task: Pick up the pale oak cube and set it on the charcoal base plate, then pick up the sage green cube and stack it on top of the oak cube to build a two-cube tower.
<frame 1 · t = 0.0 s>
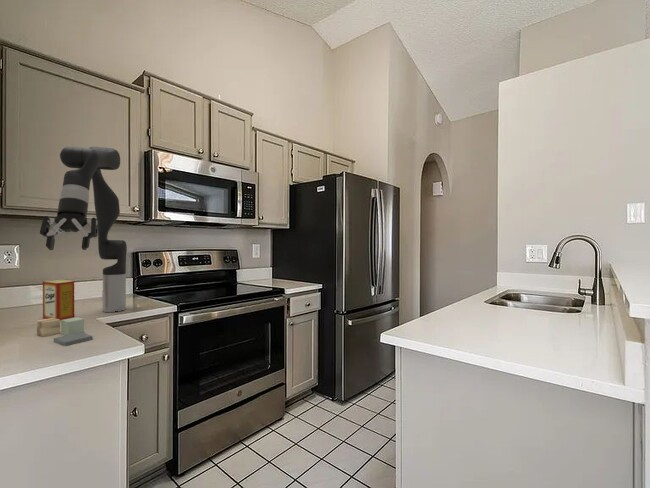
hand: (67, 249, 101), 31 cm above the countertop, tool tilted 20°, fingers open, 8 cm apart
baking soda box: (58, 318, 140), on the countertop
sage block: (72, 333, 120), on the countertop
oak block: (48, 333, 118), on the countertop
base plate: (73, 340, 111), on the countertop
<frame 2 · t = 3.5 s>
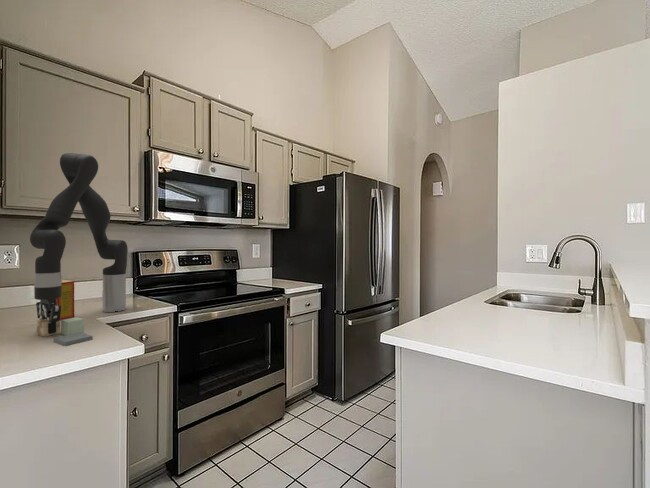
hand: (48, 331, 118), 1 cm above the countertop, tool pointing down, fingers closed on oak block, 5 cm apart
oak block: (48, 333, 118), on the countertop, touching gripper
everything else where it was.
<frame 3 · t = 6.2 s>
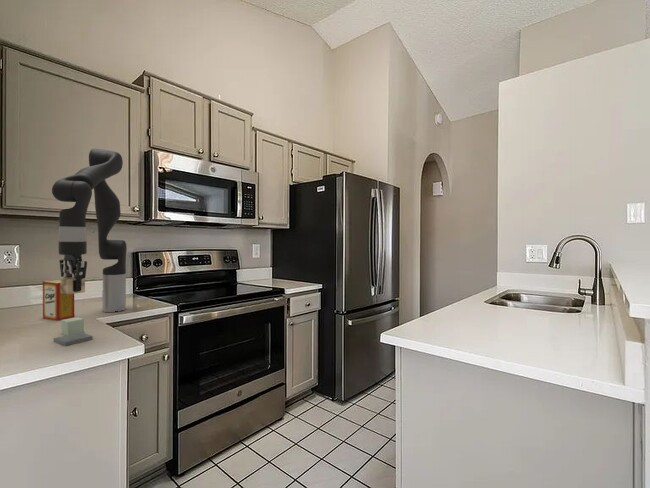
hand: (73, 290, 111), 17 cm above the countertop, tool pointing down, fingers closed on oak block, 5 cm apart
oak block: (72, 292, 111), point 16 cm above the countertop, touching gripper
everything else where it was.
when the fingers open (3 cm above the countertop, at t = 9.1 s): oak block drops 1 cm, resting on base plate.
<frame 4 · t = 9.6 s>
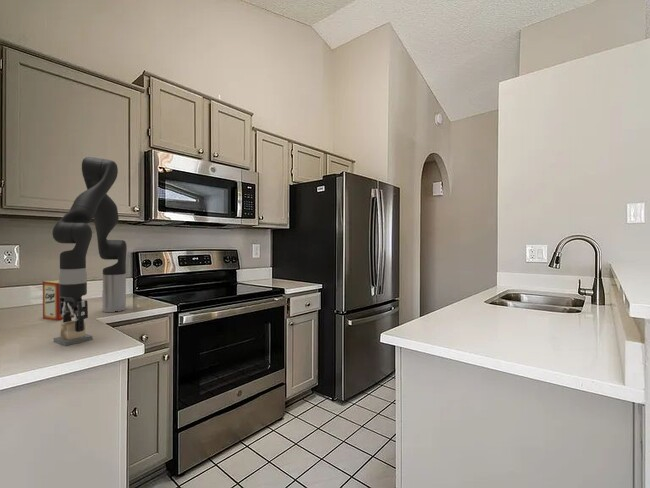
hand: (73, 329, 111), 4 cm above the countertop, tool pointing down, fingers open, 8 cm apart
oak block: (73, 337, 111), point 1 cm above the countertop, touching base plate
everything else where it was.
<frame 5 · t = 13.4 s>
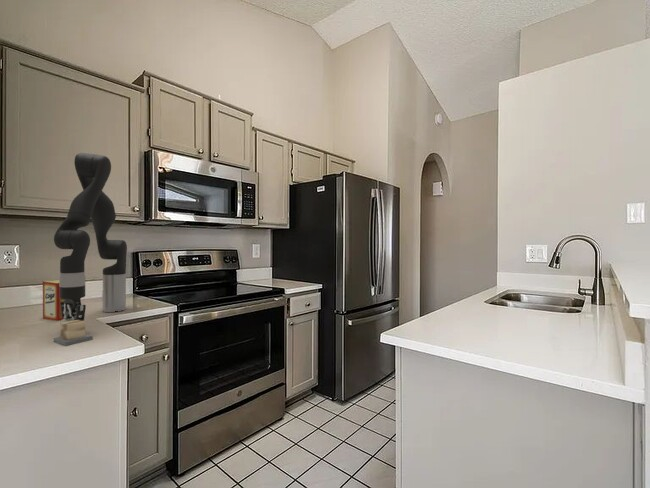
hand: (72, 330, 120), 1 cm above the countertop, tool pointing down, fingers closed on sage block, 5 cm apart
sage block: (72, 332, 120), on the countertop, touching gripper
everything else where it was.
when the fingers open (8 cm above the countertop, at t = 17.6 s): sage block drops 1 cm, point 6 cm above the countertop.
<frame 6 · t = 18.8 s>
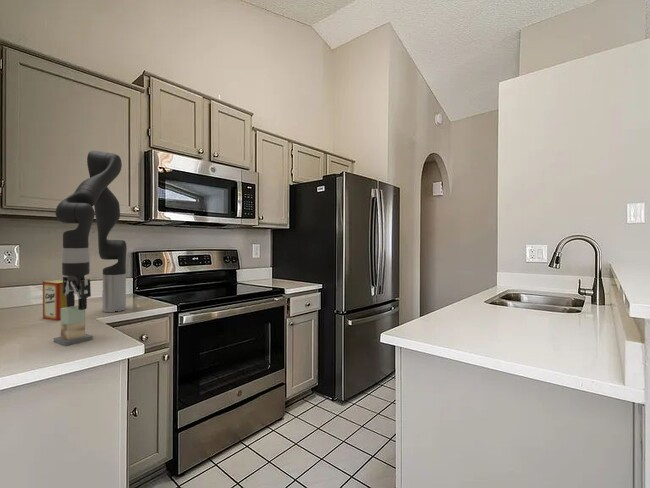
hand: (76, 307, 113), 11 cm above the countertop, tool pointing down, fingers open, 8 cm apart
sage block: (73, 322, 111), point 6 cm above the countertop, touching gripper
everything else where it was.
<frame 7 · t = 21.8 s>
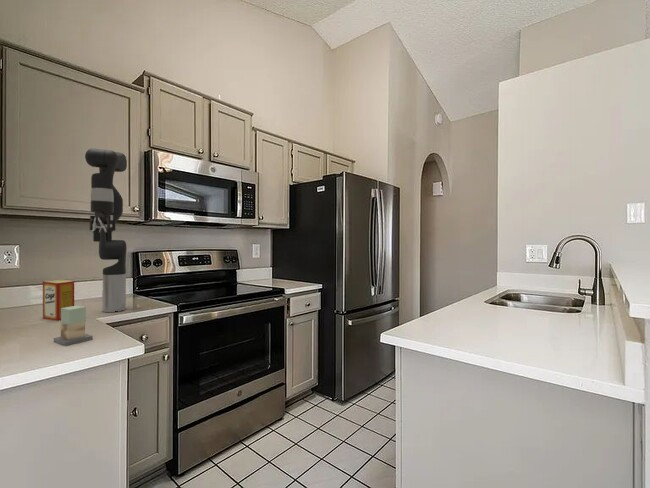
hand: (102, 241, 129), 33 cm above the countertop, tool pointing down, fingers open, 8 cm apart
sage block: (73, 322, 111), point 6 cm above the countertop, touching oak block
oak block: (73, 337, 111), point 1 cm above the countertop, touching base plate, sage block
everything else where it was.
at the end: oak block 0.1 cm off-centre on the base plate, point 1.2 cm above the base plate's base; sage block 0.2 cm off-centre on the oak block, point 5.0 cm above the oak block's base; sage block tilted 0° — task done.
